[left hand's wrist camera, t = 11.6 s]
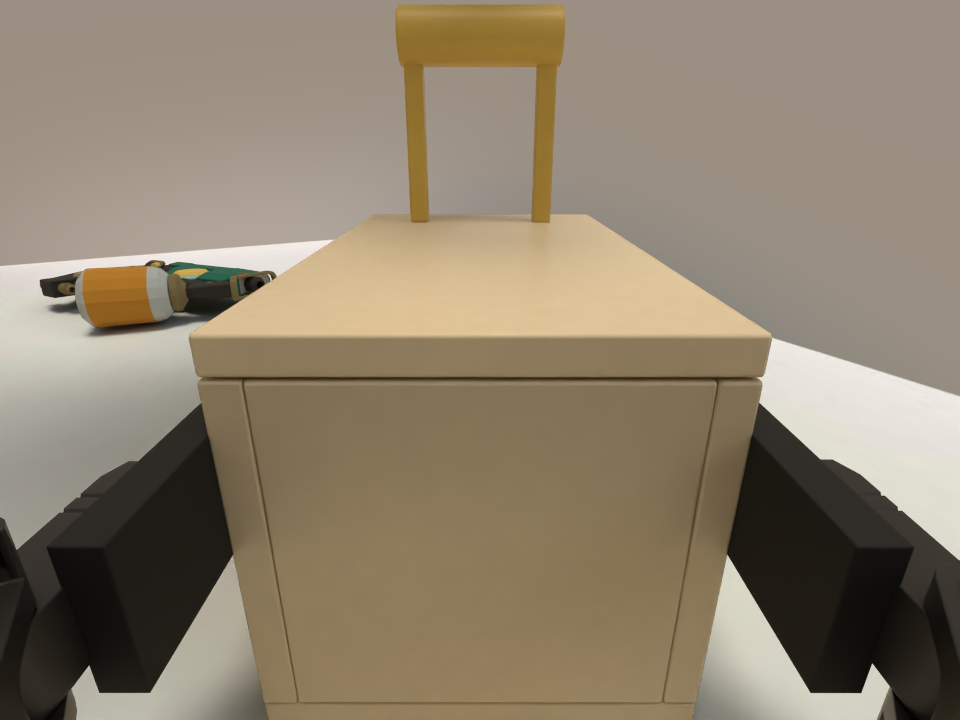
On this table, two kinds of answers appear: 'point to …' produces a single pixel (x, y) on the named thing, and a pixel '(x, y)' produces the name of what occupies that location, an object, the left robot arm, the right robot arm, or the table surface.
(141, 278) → the spray gun
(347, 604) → the chest
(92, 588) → the left robot arm
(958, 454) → the table surface
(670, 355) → the lid
